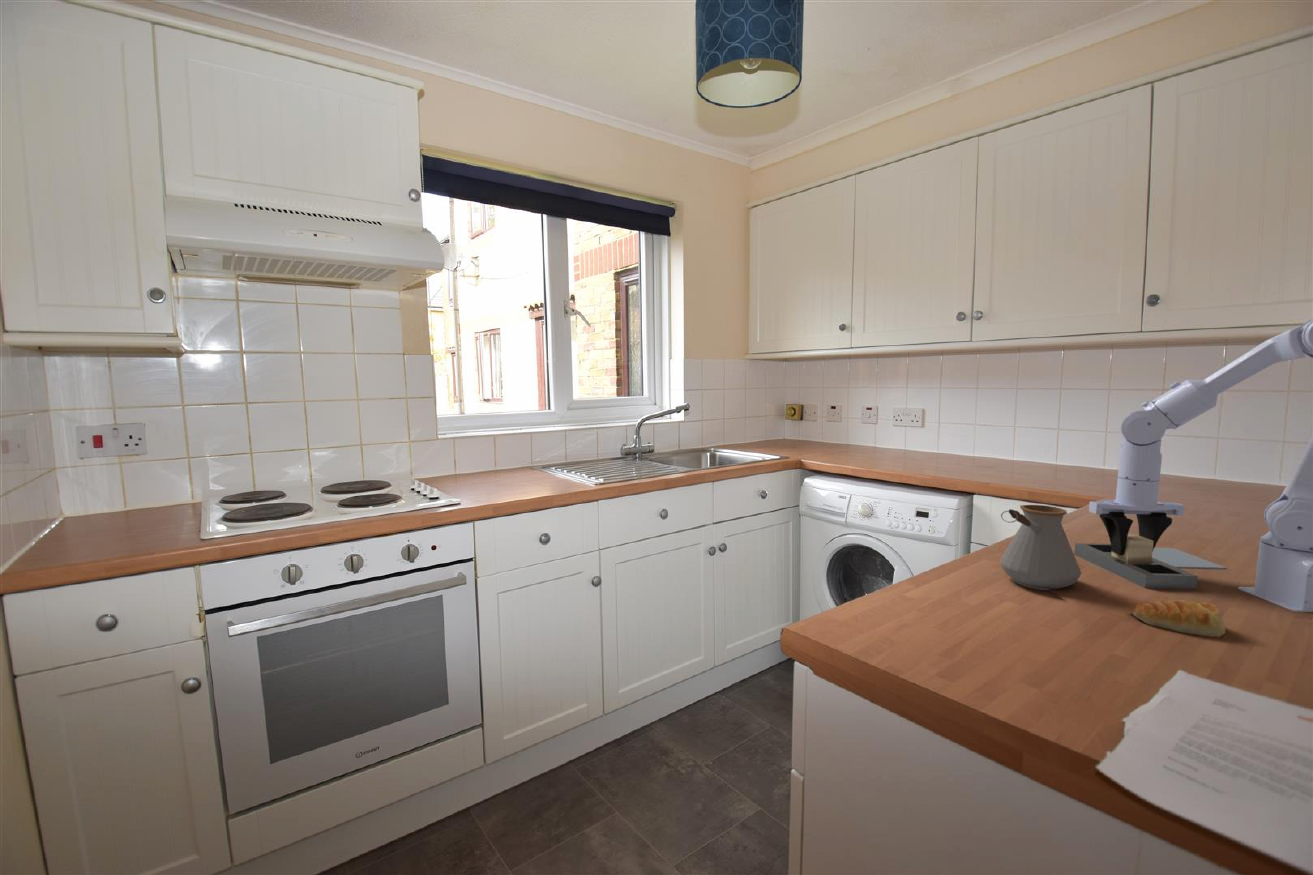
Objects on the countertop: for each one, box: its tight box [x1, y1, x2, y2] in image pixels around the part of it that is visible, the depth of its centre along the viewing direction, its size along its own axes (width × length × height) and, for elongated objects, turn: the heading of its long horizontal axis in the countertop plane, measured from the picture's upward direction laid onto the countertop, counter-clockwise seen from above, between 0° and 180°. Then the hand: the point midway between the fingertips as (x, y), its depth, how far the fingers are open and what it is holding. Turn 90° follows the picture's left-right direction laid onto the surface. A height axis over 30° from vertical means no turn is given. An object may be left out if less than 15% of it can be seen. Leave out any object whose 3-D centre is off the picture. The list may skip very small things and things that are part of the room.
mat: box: [1152, 547, 1228, 570], centre depth 112 cm, size 12×12×1 cm
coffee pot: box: [999, 504, 1082, 592], centre depth 96 cm, size 21×12×15 cm, turn 130°
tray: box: [1073, 542, 1198, 590], centre depth 105 cm, size 18×8×3 cm, turn 176°
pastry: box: [1132, 599, 1226, 638], centre depth 83 cm, size 9×7×4 cm
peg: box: [1111, 533, 1153, 563], centre depth 104 cm, size 4×4×6 cm
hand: (1131, 553), depth 104 cm, fingers closed on peg, 4 cm apart
